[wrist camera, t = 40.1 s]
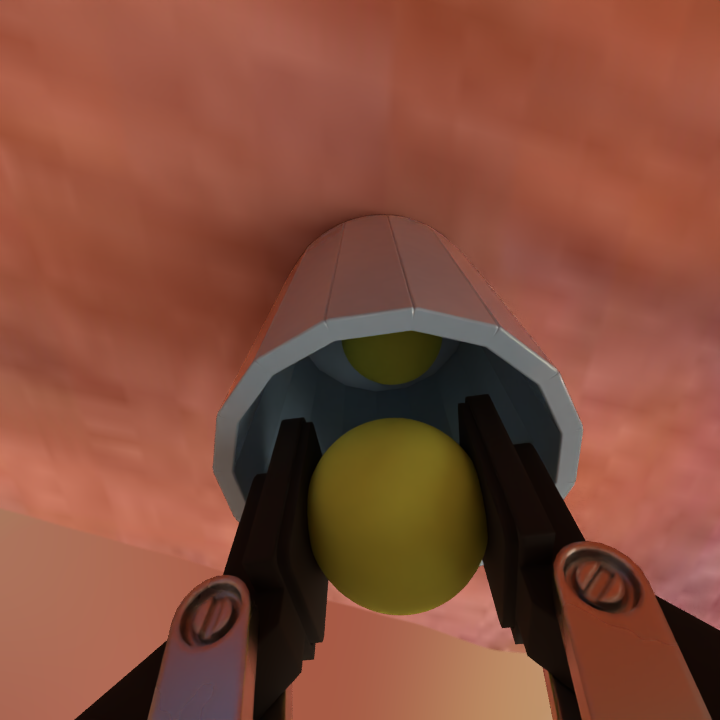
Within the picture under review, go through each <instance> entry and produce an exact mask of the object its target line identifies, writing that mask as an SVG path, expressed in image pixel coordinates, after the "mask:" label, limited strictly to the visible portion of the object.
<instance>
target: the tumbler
mask: <svg viewBox="0 0 720 720" xmlns="http://www.w3.org/2000/svg"><path fill="white" fill-rule="evenodd" d="M411 330H412V331H417V332H421V333H425V334H430V335H434V336H439V337H442V345H441V349H440V351H439V354H438V356H437V358H436V360H435V361H434V363H433V364H432V366H431V367H430V368H429V369H428V370H427V371H426V372H425V373H424V374H422V375H421V376H420V377H418V378H416V379H414V380H412V381H410V382H407V383H403V384H397V385H386V384H380V383H377V382H374V381H371V380H369V379H367V378H365V377H364V376H362V375H361V374H360V373H359V372H358V371H356V370H355V369H354V368H353V366H352V365H351V364H350V362H349V361H348V359H347V357H346V355H345V353H344V350H343V347H342V341H341V340H346V339H354V338H361V337H368V336H375V335H382V334H389V333H396V332H404V331H411ZM483 394H489V396H490V398H491V400H492V402H493V404H494V406H495V408H496V410H497V412H498V414H499V416H500V418H501V420H502V423H503V425H504V427H505V429H506V431H507V433H508V435H509V437H510V439H511V441H512V443H513V444H522V443H531V444H532V445H533V446H534V448H535V449H536V451H537V453H538V454H539V456H540V458H541V460H542V462H543V464H544V465H545V467H546V469H547V471H548V473H549V475H550V477H551V478H552V480H553V482H554V484H555V486H556V488H557V489H558V491H559V493H560V495H561V497H562V499H563V500H564V499H565V497H566V496H567V494H568V493H569V491H570V490H571V489H572V487H573V486H574V482H575V481H576V476H577V469H578V462H579V455H580V448H581V442H582V435H583V425H582V422H581V420H580V418H579V415H578V413H577V411H576V409H575V406H574V404H573V402H572V399H571V397H570V395H569V392H568V390H567V388H566V385H565V383H564V381H563V379H562V376H561V374H560V372H559V371H558V370H557V368H556V367H555V366H554V365H553V363H552V362H551V361H550V360H549V358H548V357H547V356H546V355H545V354H544V352H543V351H542V350H541V349H540V347H539V346H538V345H537V344H536V342H535V341H534V340H533V339H532V338H531V336H530V335H529V334H528V333H527V331H526V330H525V329H524V328H523V326H522V325H521V324H520V323H519V322H518V320H517V319H516V318H515V317H514V315H513V314H512V313H511V312H510V310H509V309H508V308H507V307H506V306H505V304H504V303H503V302H502V301H501V299H500V298H499V297H498V296H497V294H496V293H495V292H494V291H493V290H492V288H491V287H490V286H489V285H488V283H487V282H486V281H485V280H484V278H483V277H482V276H481V275H480V274H479V272H478V271H477V270H476V269H475V267H474V266H473V265H472V264H471V262H470V261H469V260H468V259H467V258H466V256H465V255H464V254H463V253H462V251H461V250H459V249H458V248H457V247H456V246H454V245H453V244H452V243H451V242H450V241H449V240H448V239H447V238H446V237H445V236H444V235H442V234H441V233H439V232H438V231H436V230H435V229H433V228H432V227H430V226H428V225H426V224H424V223H421V222H419V221H416V220H413V219H410V218H406V217H400V216H395V215H372V216H364V217H360V218H356V219H352V220H349V221H347V222H344V223H341V224H339V225H337V226H335V227H334V228H332V229H330V230H328V231H327V232H325V233H324V234H323V235H321V236H320V237H319V238H317V239H316V240H315V241H314V242H313V243H312V244H310V245H309V246H308V247H307V249H306V250H305V252H304V253H303V255H302V256H301V257H300V259H299V260H298V262H297V264H296V265H295V267H294V269H293V270H292V272H291V273H290V275H289V276H288V278H287V280H286V282H285V284H284V285H283V287H282V289H281V291H280V293H279V295H278V297H277V299H276V301H275V303H274V305H273V307H272V309H271V311H270V313H269V314H268V316H267V318H266V320H265V322H264V324H263V326H262V328H261V330H260V332H259V334H258V336H257V338H256V340H255V342H254V343H253V345H252V347H251V349H250V351H249V353H248V355H247V357H246V359H245V361H244V363H243V365H242V367H241V369H240V371H239V372H238V374H237V376H236V378H235V380H234V382H233V384H232V386H231V388H230V390H229V392H228V394H227V396H226V398H225V400H224V401H223V403H222V405H221V407H220V409H219V411H218V414H217V418H216V431H215V444H214V456H213V473H214V475H215V477H216V479H217V481H218V483H219V486H220V488H221V490H222V492H223V494H224V496H225V498H226V501H227V503H228V505H229V507H230V509H231V511H232V514H233V516H234V517H235V518H236V520H237V521H238V522H240V519H241V516H242V513H243V510H244V506H245V503H246V500H247V497H248V494H249V491H250V487H251V484H252V481H253V479H254V477H255V476H256V475H257V474H262V473H267V471H268V467H269V464H270V460H271V456H272V453H273V449H274V446H275V442H276V439H277V435H278V431H279V428H280V424H281V422H282V420H285V419H292V418H300V417H304V418H305V420H306V422H313V424H314V427H315V431H316V434H317V438H318V442H319V445H320V449H321V453H322V456H323V455H324V453H325V452H326V451H327V450H328V448H329V447H330V446H331V445H332V444H333V443H334V442H335V441H336V440H337V439H338V438H340V437H341V436H342V435H344V434H345V433H346V432H348V431H350V430H351V429H353V428H355V427H357V426H359V425H361V424H364V423H366V422H369V421H373V420H377V419H383V418H406V419H412V420H416V421H420V422H423V423H426V424H428V425H431V426H433V427H435V428H437V429H439V430H440V431H442V432H443V433H445V434H446V435H448V436H449V437H451V438H452V439H453V440H454V441H455V442H456V443H458V444H459V445H460V443H459V423H458V403H465V397H467V396H475V395H483ZM482 565H484V564H483V561H481V563H480V565H479V567H480V566H482Z"/></svg>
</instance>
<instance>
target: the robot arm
mask: <svg viewBox="0 0 720 720" xmlns="http://www.w3.org/2000/svg"><path fill="white" fill-rule="evenodd" d="M458 423H459V443H460V446H461V447H462V448H463V450H464V451H465V452H466V453H467V454H468V456H469V457H470V458H471V460H472V462H473V464H474V467H475V469H476V472H477V476H478V479H479V483H480V487H481V492H482V496H483V501H484V507H485V513H486V521H487V532H488V541H487V547H486V550H485V553H484V556H483V559H482V561H483V564H484V568H485V572H486V575H487V579H488V582H489V586H490V590H491V593H492V597H493V600H494V604H495V608H496V611H497V615H498V618H499V622H500V624H501V627H502V628H509V627H511V631H512V634H513V638H514V641H515V644H524V646H525V649H526V652H527V655H528V656H529V657H530V658H531V659H533V660H534V661H535V662H536V663H538V664H539V665H540V666H542V667H543V672H544V676H545V682H546V687H547V692H548V697H549V702H550V708H551V713H552V718H553V720H720V630H718V629H716V628H714V627H712V626H711V625H709V624H707V623H705V622H703V621H701V620H700V619H698V618H696V617H694V616H692V615H690V614H689V613H687V612H685V611H683V610H681V609H679V608H678V607H676V606H674V605H672V604H670V603H668V602H667V601H665V600H663V599H661V598H659V597H657V596H656V595H655V594H654V592H653V590H652V588H651V585H650V583H649V581H648V580H647V578H646V577H645V575H644V573H643V572H642V570H641V569H640V568H639V567H638V566H637V565H636V564H635V563H634V562H633V561H632V560H631V559H630V558H629V557H628V556H626V555H624V554H623V553H621V552H620V551H618V550H617V549H615V548H612V547H610V546H607V545H604V544H602V543H597V542H591V541H585V539H584V537H583V535H582V533H581V532H580V530H579V528H578V526H577V524H576V522H575V521H574V519H573V517H572V515H571V513H570V511H569V510H568V508H567V506H566V504H565V502H564V500H563V499H562V497H561V495H560V493H559V491H558V489H557V488H556V486H555V484H554V482H553V480H552V478H551V477H550V475H549V473H548V471H547V469H546V467H545V465H544V464H543V462H542V460H541V458H540V456H539V454H538V453H537V451H536V449H535V448H534V446H533V445H532V444H531V443H522V444H513V443H512V441H511V439H510V437H509V435H508V433H507V431H506V429H505V427H504V425H503V423H502V420H501V418H500V416H499V414H498V412H497V410H496V408H495V406H494V404H493V402H492V400H491V398H490V396H489V394H483V395H475V396H467V397H465V403H458ZM321 458H322V453H321V449H320V445H319V442H318V438H317V434H316V431H315V427H314V424H313V422H306V420H305V418H304V417H300V418H292V419H285V420H282V422H281V424H280V428H279V431H278V435H277V439H276V442H275V446H274V449H273V453H272V456H271V460H270V464H269V467H268V471H267V473H262V474H257V475H256V476H255V477H254V479H253V481H252V484H251V487H250V491H249V494H248V497H247V500H246V503H245V506H244V510H243V513H242V516H241V519H240V522H239V526H238V529H237V532H236V535H235V538H234V542H233V545H232V548H231V551H230V554H229V557H228V561H227V564H226V567H225V570H224V573H223V575H222V576H216V577H213V578H210V579H208V580H205V581H204V582H202V583H201V584H199V585H198V586H196V587H195V588H194V589H193V590H192V591H191V592H190V593H189V594H188V595H187V596H186V597H185V598H184V599H183V601H182V602H181V604H180V605H179V607H178V608H177V610H176V612H175V615H174V618H173V620H172V623H171V627H170V631H169V635H168V639H167V641H166V642H164V643H163V644H162V645H161V646H160V647H159V648H157V649H156V650H155V651H154V652H153V653H152V654H150V655H149V656H148V657H147V658H146V659H145V660H144V661H143V662H141V663H140V664H139V665H138V666H137V667H135V668H134V669H133V670H132V671H131V672H130V673H128V674H127V675H126V676H125V677H124V678H123V679H121V680H120V681H119V682H118V683H117V684H116V685H115V686H113V687H112V688H111V689H110V690H109V691H108V692H106V693H105V694H104V695H103V696H102V697H100V698H99V699H98V700H97V701H96V702H95V703H94V704H92V705H91V706H90V707H89V708H88V709H86V710H85V711H84V712H83V713H82V714H81V715H79V716H78V717H77V718H76V719H75V720H292V682H293V681H294V680H295V679H296V678H297V676H298V675H299V674H300V673H301V670H302V661H303V660H313V659H314V654H315V643H318V642H322V641H323V638H324V630H325V617H326V604H327V590H328V579H327V577H326V576H325V574H324V573H323V571H322V570H321V568H320V567H319V565H318V564H317V561H316V559H315V557H314V555H313V551H312V548H311V543H310V537H309V530H308V517H307V501H308V489H309V484H310V480H311V477H312V475H313V472H314V470H315V468H316V466H317V464H318V462H319V461H320V459H321Z"/></svg>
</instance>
